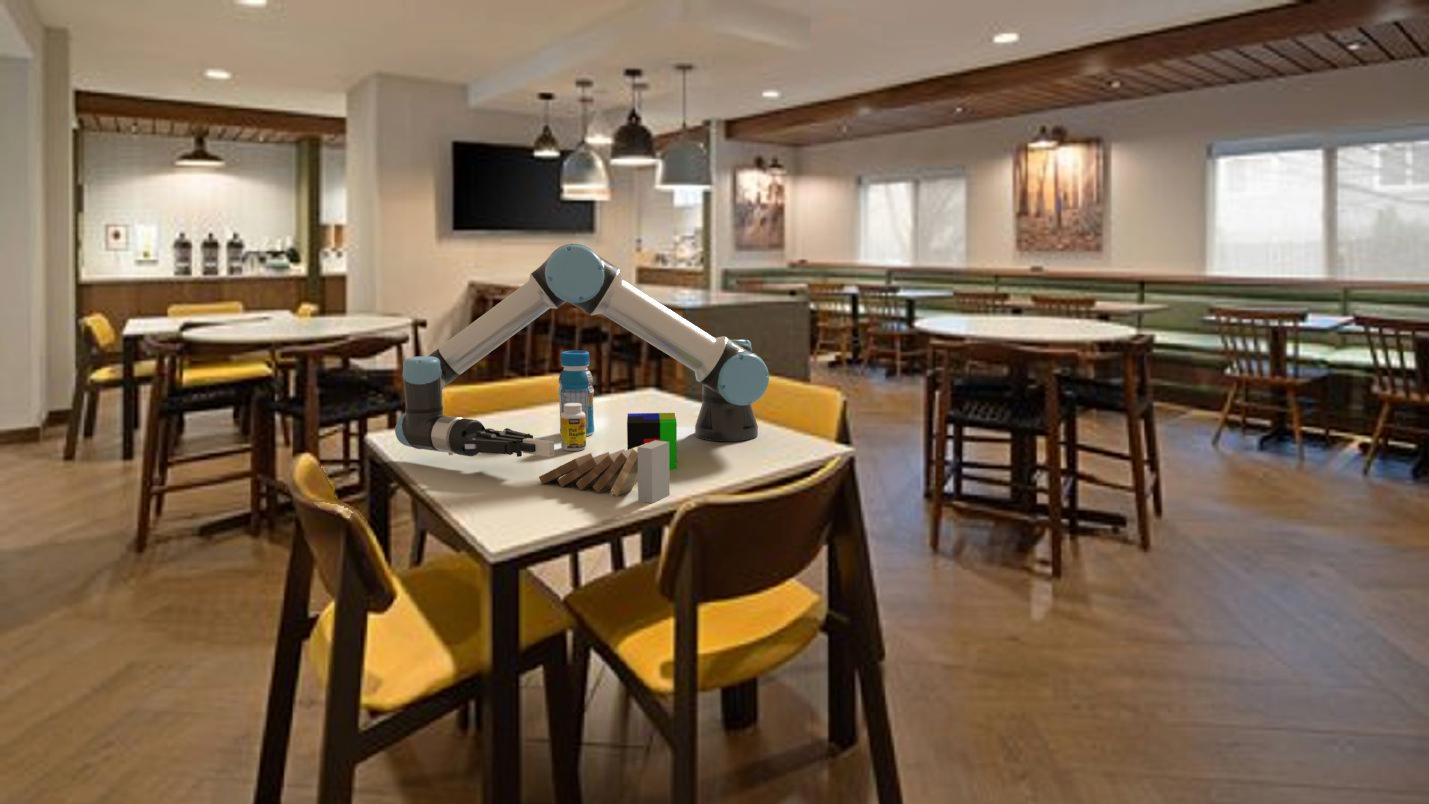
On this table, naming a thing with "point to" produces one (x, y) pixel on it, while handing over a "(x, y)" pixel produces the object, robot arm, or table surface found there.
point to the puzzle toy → (653, 432)
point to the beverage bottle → (577, 385)
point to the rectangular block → (653, 471)
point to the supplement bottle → (573, 427)
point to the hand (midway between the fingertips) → (551, 449)
